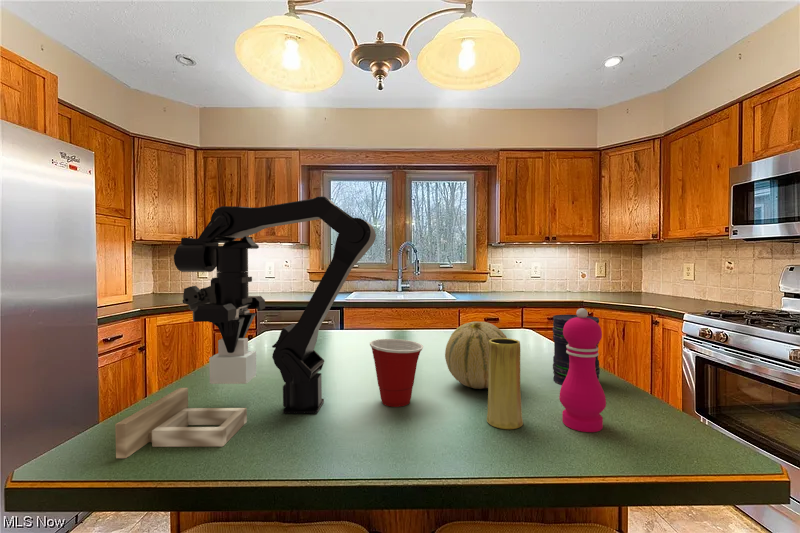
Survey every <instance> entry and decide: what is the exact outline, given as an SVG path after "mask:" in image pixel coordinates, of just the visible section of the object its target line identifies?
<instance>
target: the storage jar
mask: <svg viewBox="0 0 800 533" xmlns="http://www.w3.org/2000/svg"><path fill="white" fill-rule="evenodd" d="M575 317H578V316H577V314H555V315H553V316H552V318H553V319H552V320H553V322H552V324H553V325H552V333H553V334H552V340H553V342H554V344H553V345H554V350H553V351H554V352H553V353H554V355H553V357H552V358H553V359H552V360H553V361H552V362H553V363H552V372H553V382H554V383H555V384H557V385H560V386H562V384H563V382H564V380H565V378H566V376H567V374H568V370H569V362H570V360H569V354H567V353H566V350H567V347H566V345H567V344H568V342H567V340H566V339H565V338H564V335H563V328H564V325H565V323H566V322H567V321H568V320H570V319H572V318H575ZM586 318H590V319H592V320H594V321H596V322H597V323H598V324H599V323H600V318H599V317H597V316H592V315H587V317H586ZM599 344H600V342H599V343H598V344H597V345H596V346H597V347H598V348H599ZM595 370H596V375H597V378H598V380H599V379H600V370H601V369H600V360H599V355H598V356H596V360H595Z"/></svg>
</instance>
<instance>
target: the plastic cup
mask: <svg viewBox="0 0 800 533" xmlns="http://www.w3.org/2000/svg"><path fill="white" fill-rule="evenodd" d="M369 346H370V347H371V351H372V357H373V361H374V366H375V374H376V379H377V386H378V389H379V395H380V400H381V403H382V404H383V405H384V406H386V407H394V408H400V407H405V406H407V405H409V404H410V402H411V399H412V393H413V387H414V384H415V383H414V382H415V378H416V372H417V365H418V360H419V356H420V353H422V352H421V351H423V348H424V345H422V344H421V343H420V342H417V341H413V340H408V339H399V338H397V339H396V338H380V339H379V338H378V339H374V340H371V341H370V342H369Z"/></svg>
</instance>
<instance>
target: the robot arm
mask: <svg viewBox="0 0 800 533" xmlns="http://www.w3.org/2000/svg"><path fill="white" fill-rule="evenodd" d="M317 220H318V221H319V220H321V221H323V222H324V223H325V224H326V225H328V227H330V228H331V229H332V230H334V231H335V232H336V233H337V234H338V235H337V237H336V240H335V243H334V244H335V246H334V249H333V254H332V258H331V260H330V263H329V264H328V267H327V268H326V270H325V272H324V273H323V276H322V278H321V279H320V281H319V283H318V285H317V287H316V288H315V289H314V292H313V294H312V295H311V298H310V300H309V301H308V303H307V305H306V307H305V308H304V310H303V312H302V314H301V316H300V318H299V320H298V321H297V323H291V324H289V325H287V326H285V327H283V328H282V329H281V331H280V333H279V336H278V339H277V341H276V342H275V343H274V344H273V345H272V346H271V347H272V348H274V350H273V351H272V356H271V357H272V360H273V362H274V365H275V366H276V368H277V370H279V373H280V375H281V378H282V380H283V382H284V384H283V385H282V406H283V407H284V408H283V410H282V414H318V413H319V411H320V409H321V407H322V406H323V404H324V402H325V398H322V397H323V396H322V392H323V390H322V389H323V388H322V387H323V386H322V385H323V384H322V382H323V381H322V373H321V371H322V369H323V367H324V364H325V359H323V358H322V356H321V355H320V354H319V353H318V352H316V350H315V347H316V345H317V342H318V337H319V330H320V328H321V326H322V324H323V322H324V320H325V319H326V317H327V315H328V313H329V311H330V310H331V307H332V305H333V303H334V302H335V300H336V299H337V297H338V296H339V293H340V292H341V289H342V288H343V286H344V284H345V282H346V280H347V279H348V276H349V275H350V273H351V271H352V270H353V268H354V266H356V265H357V263H358V262H359V261H360V260H361V259H362V258H363V257H364V256H365V255H366V253H367V252H368V251H369V250H370V248H371V247H372V246H373V244H374V243H375V241H376V238H377V234H376V231H375V228H374V226H373V224H371V223H369V222H368V221H366V220H365V219H363V218H360V217H353V216H351V214H349V213H347V211H345V210H343V209H341V208H340V207H339V206H338V205H336V204H335V202H334V201H332V200H331V199H329V198H328V197H326V196H324V195H318V196H315V197H313V198H309V199H303V200H302V199H301V200H297V201H296V200H295V201H290V202H284V203H278V204H272V205H267V206H259V207H250V206H238V205H237V206H233V205H232V206H231V205H230V206H229V205H223V206H219V207H216V208H215V209H214V210H213V213H212V214H211V217H210V220H209V222H208V223H207V225H206V226H205V228H204V229H203V230H202V232H201V233H200V235H199V236H198V238H192V237H181V238H180V244H179V245H177V247H176V250H175V252H174V254H173V262H174V265H175V268H176V269H177V271H179V272H182V273H211V272H213V271H215V269H216V276H215V277H212V278H211V279H210V285H209V286H206V287H202V288H199V287H198V286H197V285H191V286H187V287H186V288H183V294H182V304H185V305H188V307H189V310H190V311H192V321H193V322H196V323H197V322H199V323H200V322H202V323H204V322H205V323H208V322H209V323H211V324H212V325H215V326H216V327H217V328H218V330H219V332H220V335H221V339H222V338H223V341H224V344H225V346H226V349H227V352H228V353H233V352H234V351H235V348H236V345H237V342H238V338H246V335H247V332H248V331H249V328H250V327H251V325H252V323H253V320H254V318H255V317H256V316H257V312H250V309H251V310H252V309H255V310H256V309H257V310H258V311H263V310H265V309H266V299H264V298H263V297H262V296H261V295H249V283H251V282H253V276H249V250H257V249H259V248H260V246H259V244H257V242H255V241H254V240H253V239H252V238H251V235H254V234H258V233H259V232H261V231H263V230H265V229H268V228H273V227H279V226H285V225H292V224H298V223H305V222H310V221H317ZM236 239H239V240H236ZM219 244H223V245H219Z"/></svg>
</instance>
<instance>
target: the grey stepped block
mask: <svg viewBox="0 0 800 533" xmlns="http://www.w3.org/2000/svg"><path fill="white" fill-rule="evenodd" d="M217 344H218V345H217V350H218V353H216V354H214V355H212V356H210V357H209V359H208V360H209V384H212V385H213V384H216V385H217V384H219V385H220V384H222V385H223V384H224V385H225V384H228V385H230V384H233V385H234V384H238V385H239V384H242V385H243V384H246V385H247V383H249V382H250V381H252V380H253V379H254V378H255V377H257V350H256V351H255V350H254V351H253V350H251V351H250V350H249V338H248V337H245V338H238V342H237V345H236V348H235V351H234V352H233V353H228V352H227V349H226V346H225V344H224V341H223V338H222V337H221V338H220V339H219V340H217Z"/></svg>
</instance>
